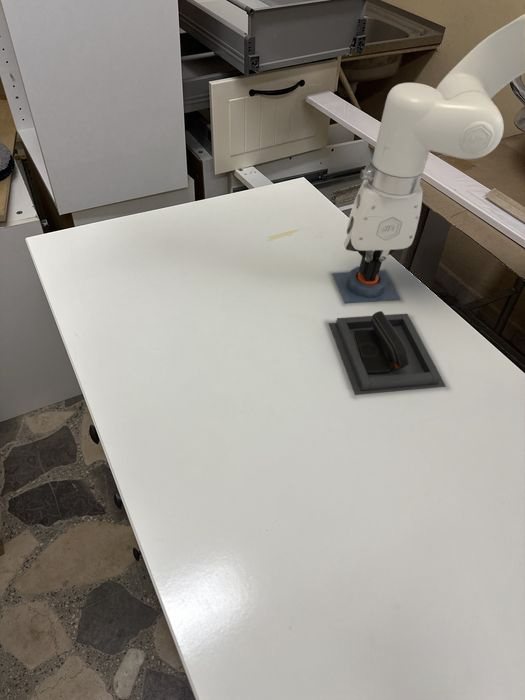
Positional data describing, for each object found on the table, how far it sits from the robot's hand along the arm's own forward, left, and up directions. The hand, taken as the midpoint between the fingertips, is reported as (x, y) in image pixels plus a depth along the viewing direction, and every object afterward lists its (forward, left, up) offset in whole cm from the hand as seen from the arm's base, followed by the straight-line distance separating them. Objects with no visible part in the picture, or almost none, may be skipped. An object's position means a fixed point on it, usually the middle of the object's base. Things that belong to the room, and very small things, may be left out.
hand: (367, 276), depth 90 cm
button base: (0, 0, -3) cm, 3 cm away
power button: (0, 0, -2) cm, 2 cm away
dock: (+2, +16, -3) cm, 16 cm away
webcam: (+3, +16, -2) cm, 16 cm away
